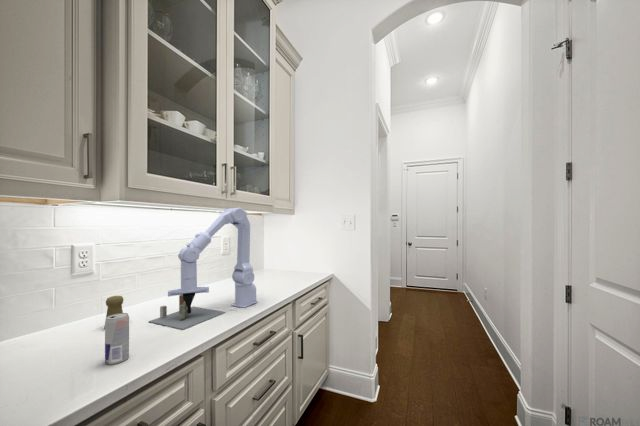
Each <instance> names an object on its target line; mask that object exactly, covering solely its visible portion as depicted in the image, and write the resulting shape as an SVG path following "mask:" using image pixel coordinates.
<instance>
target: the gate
mask: <svg viewBox="0 0 640 426" xmlns="http://www.w3.org/2000/svg"><path fill="white" fill-rule="evenodd" d="M178 310H179V320H180V319H185V317H186V315H187V310H188V308H187V305H186V303H185V301H184V302H183V304H182V305H180V306H179V305H178Z"/></svg>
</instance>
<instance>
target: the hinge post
mask: <svg viewBox="0 0 640 426" xmlns="http://www.w3.org/2000/svg"><path fill="white" fill-rule="evenodd" d="M178 296H179V297H178V298H179V299H178V300H179V303H178V307H179V306H180V305H182V304H183V302H184V299H183V295H178Z"/></svg>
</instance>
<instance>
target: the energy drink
mask: <svg viewBox="0 0 640 426" xmlns="http://www.w3.org/2000/svg"><path fill="white" fill-rule="evenodd" d="M104 327H105V329H104V363H105V364H106V365H117V364H120V363H123V362H125V361H127V360H128V359H129V358H130V316H129V313H128V312H123V313H118V314H113V315H110V316H108V317H106V316H105V320H104Z"/></svg>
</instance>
